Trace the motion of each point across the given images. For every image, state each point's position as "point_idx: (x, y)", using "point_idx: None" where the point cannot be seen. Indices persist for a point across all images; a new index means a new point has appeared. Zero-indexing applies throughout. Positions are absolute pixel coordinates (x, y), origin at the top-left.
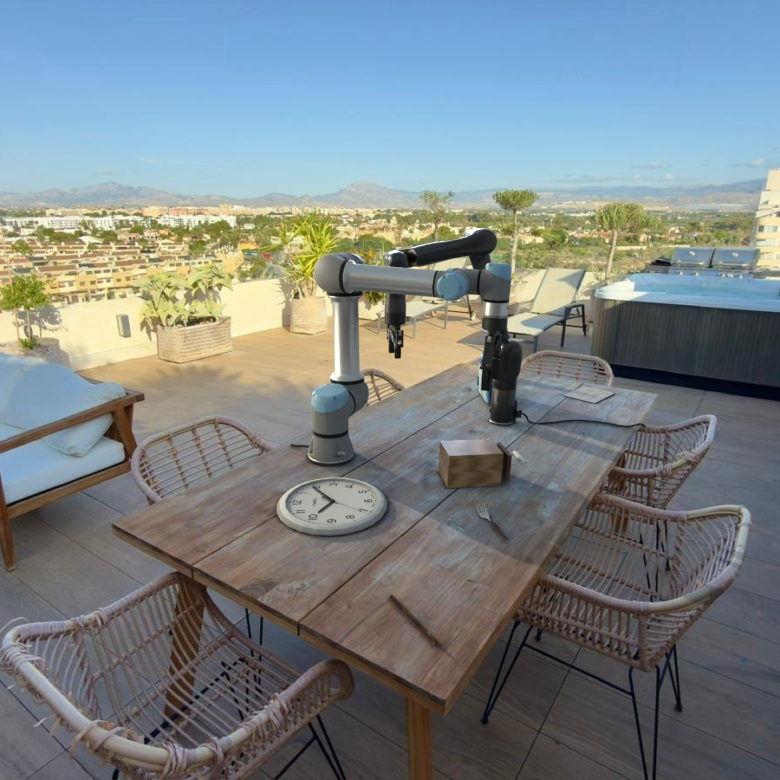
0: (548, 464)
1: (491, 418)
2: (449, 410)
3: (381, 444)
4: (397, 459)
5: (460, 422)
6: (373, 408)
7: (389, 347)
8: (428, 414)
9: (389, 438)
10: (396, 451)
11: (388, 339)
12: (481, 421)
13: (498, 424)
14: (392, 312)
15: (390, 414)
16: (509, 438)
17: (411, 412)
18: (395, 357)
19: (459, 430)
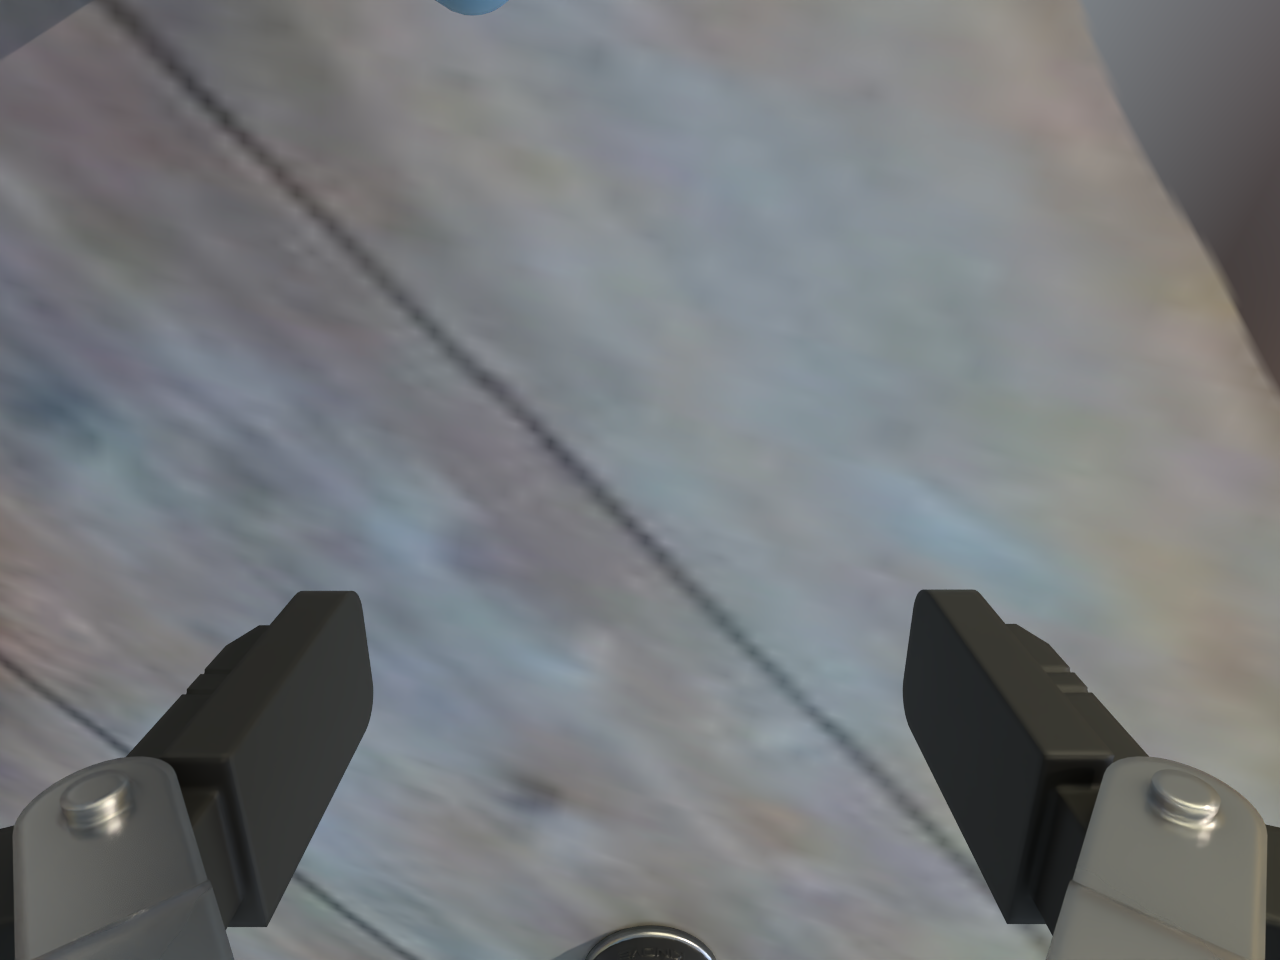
0: None
1: (645, 948)
2: (923, 791)
3: (393, 163)
4: (117, 215)
5: (694, 782)
6: (1186, 285)
7: (975, 678)
8: (895, 650)
9: (501, 255)
10: (256, 245)
11: (1192, 857)
12: (681, 888)
13: (596, 946)
14: None
15: (991, 390)
16: (405, 921)
17: (976, 553)
18: (294, 607)
19: (564, 735)
